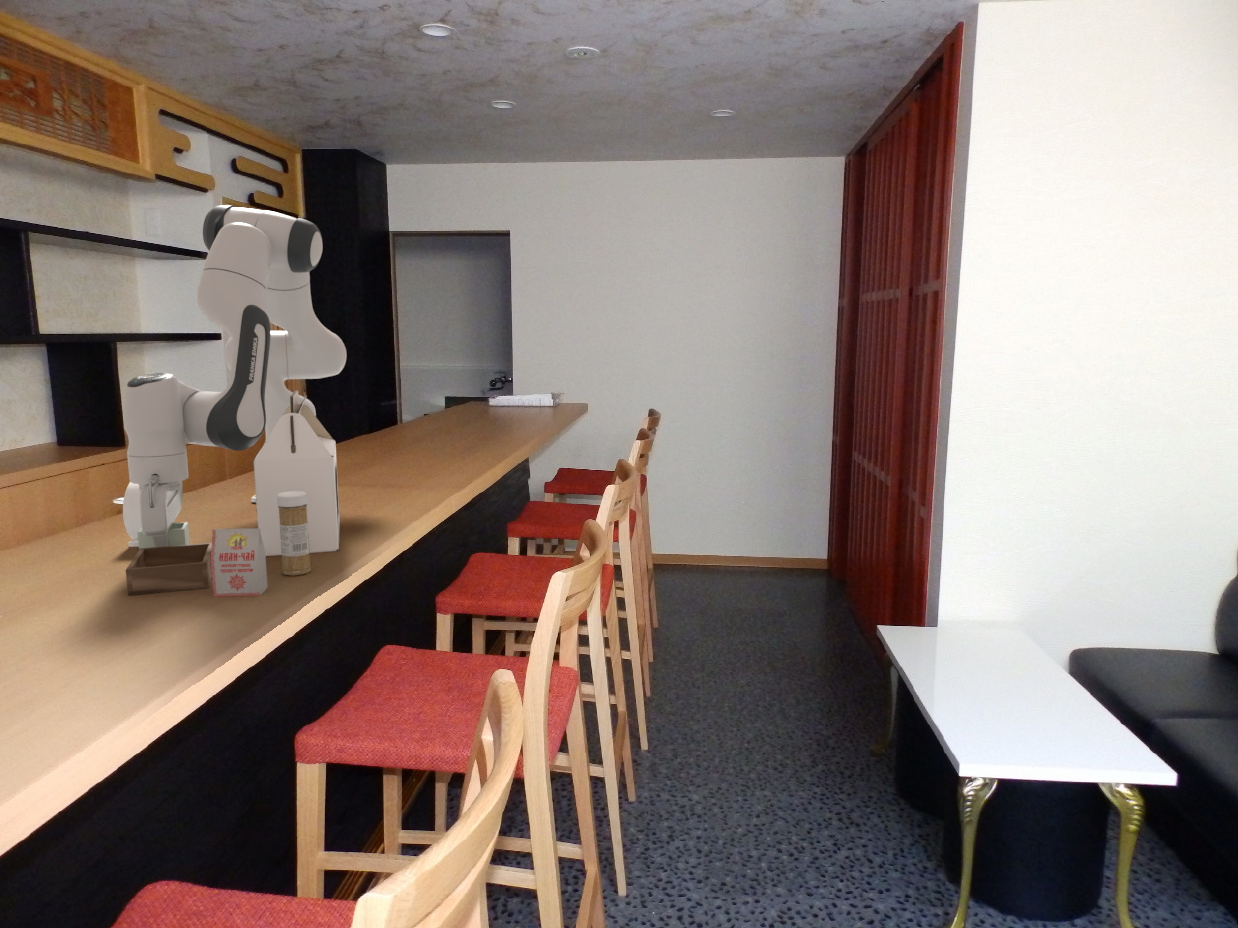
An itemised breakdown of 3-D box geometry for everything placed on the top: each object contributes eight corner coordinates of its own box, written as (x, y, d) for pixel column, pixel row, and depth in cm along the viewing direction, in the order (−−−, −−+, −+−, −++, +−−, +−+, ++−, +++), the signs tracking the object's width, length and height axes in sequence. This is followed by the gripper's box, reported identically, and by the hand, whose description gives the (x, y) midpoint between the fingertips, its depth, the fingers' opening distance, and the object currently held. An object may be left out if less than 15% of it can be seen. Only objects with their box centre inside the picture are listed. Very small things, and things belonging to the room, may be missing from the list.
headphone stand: (166, 539, 159) (161, 477, 157) (152, 547, 153) (146, 483, 151) (140, 539, 159) (135, 477, 157) (125, 548, 153) (119, 483, 151)
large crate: (142, 571, 138) (140, 548, 138) (215, 565, 142) (214, 542, 142) (128, 595, 126) (125, 569, 126) (208, 587, 130) (206, 562, 130)
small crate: (140, 567, 141) (137, 532, 140) (146, 558, 146) (143, 525, 145) (187, 563, 144) (184, 528, 143) (190, 554, 149) (188, 521, 148)
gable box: (338, 551, 152) (330, 397, 147) (259, 557, 148) (248, 398, 143) (339, 524, 172) (332, 388, 168) (270, 528, 168) (261, 389, 164)
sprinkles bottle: (309, 567, 142) (305, 489, 139) (312, 574, 138) (308, 494, 135) (280, 570, 140) (275, 491, 137) (282, 577, 136) (277, 496, 133)
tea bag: (222, 589, 130) (217, 526, 128) (267, 587, 130) (263, 525, 129) (213, 596, 126) (208, 532, 125) (259, 595, 127) (255, 531, 125)
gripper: (171, 479, 134) (178, 563, 136) (186, 460, 153) (192, 533, 155) (126, 481, 132) (134, 566, 134) (147, 461, 150) (153, 536, 153)
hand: (165, 548), depth 145 cm, fingers closed on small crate, 5 cm apart
